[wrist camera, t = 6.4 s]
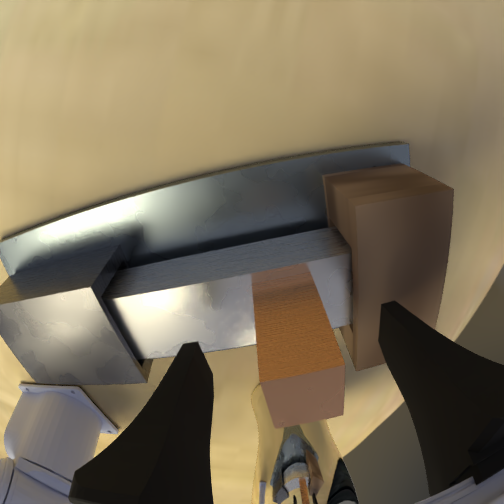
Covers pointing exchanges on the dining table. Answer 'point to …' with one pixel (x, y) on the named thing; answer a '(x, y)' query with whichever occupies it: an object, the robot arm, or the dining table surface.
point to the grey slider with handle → (251, 314)
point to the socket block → (390, 246)
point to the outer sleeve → (149, 254)
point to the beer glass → (297, 463)
